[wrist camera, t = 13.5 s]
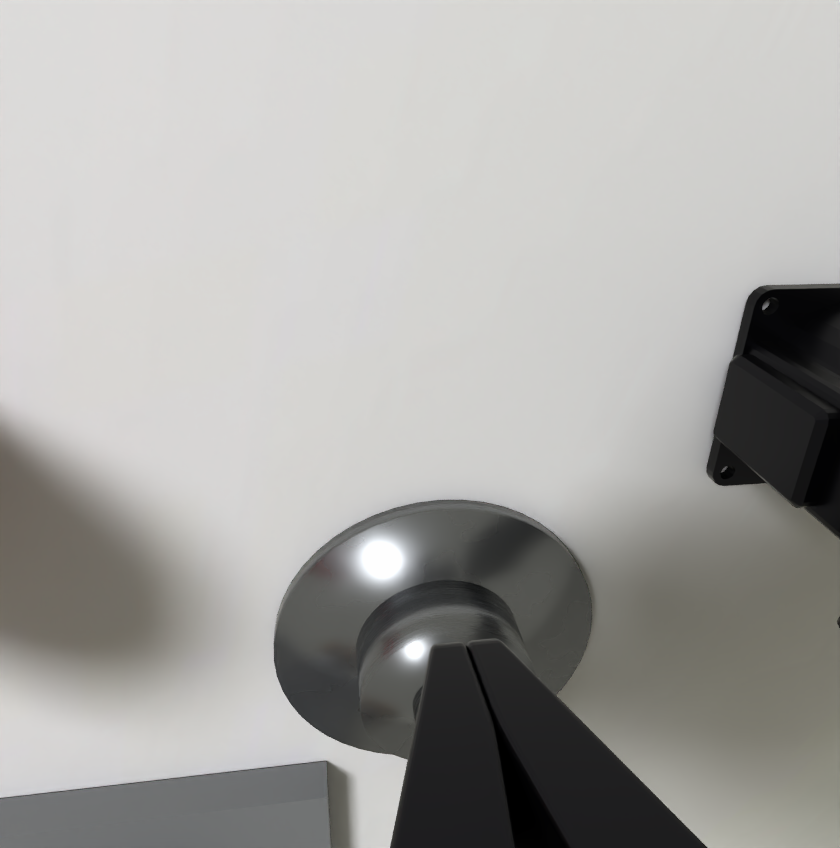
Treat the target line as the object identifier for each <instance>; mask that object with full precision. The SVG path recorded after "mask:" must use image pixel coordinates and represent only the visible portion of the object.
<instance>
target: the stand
mask: <svg viewBox="0 0 840 848" xmlns="http://www.w3.org/2000/svg"><path fill="white" fill-rule="evenodd" d="M591 620H592V609H591V599H590V595H589V591H588V587H587V584H586V581H585V579H584V577H583V575H582V573H581V570H580V569H579V567H578V565H577V563H576V561H575V560H574V558H573V557H572V555H571V554H570V552H569V551H568V549H567V548H566V546H565V545H564V544H563V543H562V542H561V541H560V540H559V539H558V538H557V537H556V536H555V535H554V534H553V533H552V532H551V531H549V530H548V529H547V528H545V527H544V526H543V525H541V524H540V523H538V522H536V521H535V520H533V519H531V518H529V517H527V516H525V515H524V514H521V513H519V512H516V511H513V510H511V509H508V508H505V507H502V506H498V505H493V504H489V503H485V502H477V501H467V500H437V501H428V502H420V503H414V504H410V505H406V506H401V507H397V508H394V509H391V510H388V511H385V512H382V513H379V514H376V515H374V516H371V517H369V518H367V519H365V520H363V521H361V522H359V523H357V524H355V525H353V526H351V527H350V528H348V529H346V530H345V531H343V532H342V533H340V534H338V535H337V536H335V537H334V538H333V539H331V540H330V541H329V542H328V543H326V544H325V545H324V546H323V547H321V548H320V549H319V550H318V551H317V552H316V553H315V554H314V555H313V556H312V557H311V558H310V559H309V560H308V561H307V562H306V563H305V564H304V565H303V567H302V568H301V569H300V571H299V572H298V573H297V575H296V576H295V578H294V579H293V580H292V582H291V584H290V586H289V587H288V589H287V591H286V593H285V595H284V597H283V599H282V602H281V605H280V608H279V611H278V614H277V620H276V626H275V634H274V662H275V668H276V673H277V677H278V680H279V682H280V685H281V687H282V690H283V692H284V694H285V695H286V697H287V699H288V700H289V702H290V703H291V705H292V706H293V707H294V708H295V710H296V711H297V712H298V713H299V714H300V715H301V716H302V717H303V718H304V719H305V720H306V721H307V722H308V723H310V724H311V725H312V726H313V727H315V728H316V729H318V730H319V731H321V732H322V733H324V734H325V735H327V736H329V737H331V738H333V739H335V740H337V741H339V742H341V743H344V744H347V745H350V746H353V747H356V748H359V749H363V750H367V751H372V752H376V753H384V754H392V755H396V756H399V757H402V758H404V759H408V757H409V752H410V747H411V742H412V737H413V732H414V727H415V722H416V717H417V712H418V707H419V702H420V697H421V692H422V687H423V682H424V677H425V672H426V667H427V662H428V657H429V653H430V649H431V647H432V646H433V645H434V644H440V643H450V642H462V643H464V644H465V645H466V643H468V642H469V641H472V640H482V639H493V638H495V639H499V640H501V641H502V642H503V643H504V644H505V645H506V646H507V647H508V648H509V649H510V650H511V651H512V652H513V653H514V654H515V655H516V656H517V657H518V658H519V659H520V660H521V661H522V662H523V663H524V664H525V665H526V666H527V667H528V668H529V669H530V670H531V671H532V672H533V673H534V674H535V675H536V676H537V677H538V678H539V679H540V680H541V681H542V682H543V683H544V684H545V685H546V686H547V687H548V688H549V689H550V690H551V691H552V692H553V693H554V694H555V695H556V694H557V693H558V692H559V691H560V690H561V689H562V688H563V686H564V685H565V684H566V683H567V681H568V680H569V679H570V677H571V676H572V674H573V673H574V671H575V669H576V668H577V666H578V664H579V662H580V661H581V658H582V656H583V653H584V651H585V649H586V646H587V643H588V639H589V635H590V631H591Z"/></svg>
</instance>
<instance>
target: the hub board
mask: <svg viewBox="0 0 840 848" xmlns="http://www.w3.org/2000/svg"><path fill="white" fill-rule="evenodd" d="M0 848H331V831H330V814H329V797H328V780H327V763H326V761H323V762H315V763H306V764H297V765H289V766H280V767H271V768H263V769H254V770H245V771H237V772H228V773H219V774H211V775H202V776H193V777H184V778H176V779H167V780H158V781H150V782H141V783H132V784H124V785H115V786H106V787H98V788H89V789H80V790H72V791H63V792H54V793H46V794H37V795H28V796H20V797H11V798H2V799H0Z"/></svg>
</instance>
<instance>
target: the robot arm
mask: <svg viewBox="0 0 840 848" xmlns="http://www.w3.org/2000/svg"><path fill="white" fill-rule="evenodd" d="M769 298H770V304H769V306H768V307H767V308H766V309H765V310H762V305H763V303H764V302H765V301H766V300H767V299H769ZM726 466H728V468H727V469H726V470H725V471H724V472H721V470H722V469H723V468H724V467H726ZM720 472H721V473H720ZM707 474H708V476H709V477H710V478H711V479H712V480H713V481H714V482H715V483H717V484H718V485H722V486H728V485H743V484H759V483H768V484H769V485H770V486H771V487H772V488H773V489H774V490H775V491H777V492H778V493H779V494H780V495H781V496H782V497H783V498H785V499H786V500H787V501H788V502H789V503H790V504H791V505H792V506H794V507H796V508H801V507H803V508H804V509H805V510H807V511H808V512H809V513H810V514H811V515H812V516H814V517H815V518H816V519H817V520H818V521H819V522H820V523H822V524H823V525H824V526H825V527H826V528H827V529H828V530H830V531H831V532H832V533H833V534H834V535H835V536H837V537H838V538H839V539H840V284H806V285H766V286H761V287H759V288H757V289H756V290H754V291H753V292H752V293H751V294H750V296H749V297H748V300H747V302H746V306H745V310H744V314H743V318H742V322H741V327H740V331H739V335H738V339H737V343H736V347H735V352H734V356H733V360H732V361H731V362H730V365H729V369H728V373H727V378H726V382H725V386H724V390H723V394H722V399H721V403H720V407H719V411H718V415H717V419H716V424H715V428H714V439H713V443H712V447H711V452H710V456H709V460H708V464H707ZM837 624H838V626H839V628H840V617H839V619H838V620H837ZM390 848H707V847H706V846H705V845H704V844H703V843H702V842H701V841H700V840H699V839H698V838H697V837H696V836H695V835H694V834H693V833H692V832H691V831H690V830H689V829H688V828H687V827H686V826H685V825H684V824H683V823H682V822H681V821H680V820H679V819H678V818H677V817H676V816H675V815H674V814H673V813H672V812H671V811H670V810H669V809H668V808H667V807H666V806H665V805H664V804H663V802H662V801H661V800H660V799H659V798H658V797H657V796H656V795H655V794H654V793H653V792H652V791H651V790H650V789H649V788H648V787H647V786H646V785H645V784H644V783H643V782H642V781H641V780H640V779H639V778H638V777H637V776H636V775H635V774H634V773H633V772H632V771H631V770H630V769H629V768H628V767H627V766H626V765H625V764H624V763H623V762H622V761H621V760H620V759H619V758H618V757H617V756H616V755H615V754H614V753H613V752H612V751H611V750H610V749H609V748H608V747H607V746H606V745H605V744H604V743H603V742H602V741H601V740H600V739H599V738H598V737H597V736H596V735H595V734H594V733H593V732H592V731H591V730H590V729H589V728H588V727H587V726H586V725H585V724H584V723H583V722H582V721H581V720H580V719H579V718H578V717H577V716H576V715H575V714H574V713H573V712H572V711H571V710H570V709H569V708H568V707H567V706H566V705H565V704H564V703H563V702H562V701H561V700H560V699H559V698H558V697H557V696H556V695H555V694H554V693H553V692H552V691H551V690H550V689H549V688H548V687H547V686H546V685H545V684H544V683H543V682H542V681H541V680H540V679H539V678H538V677H537V676H536V675H535V674H534V673H533V672H532V671H531V670H530V669H529V668H528V667H527V666H526V665H525V664H524V663H523V662H522V661H521V660H520V659H519V658H518V657H517V656H516V655H515V654H514V653H513V652H512V651H511V650H510V649H509V648H508V647H507V646H506V645H505V644H504V643H503V642H502V641H501V640H499V639H495V638H493V639H482V640H472V641H469V642H468V643H466V645H465V644H464V643H462V642H450V643H440V644H434V645H433V646H432V647H431V649H430V653H429V657H428V662H427V667H426V672H425V677H424V682H423V687H422V692H421V697H420V702H419V707H418V712H417V717H416V722H415V727H414V732H413V737H412V742H411V747H410V752H409V757H408V762H407V767H406V772H405V776H404V781H403V786H402V791H401V796H400V801H399V806H398V811H397V816H396V821H395V826H394V831H393V836H392V841H391V846H390Z"/></svg>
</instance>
